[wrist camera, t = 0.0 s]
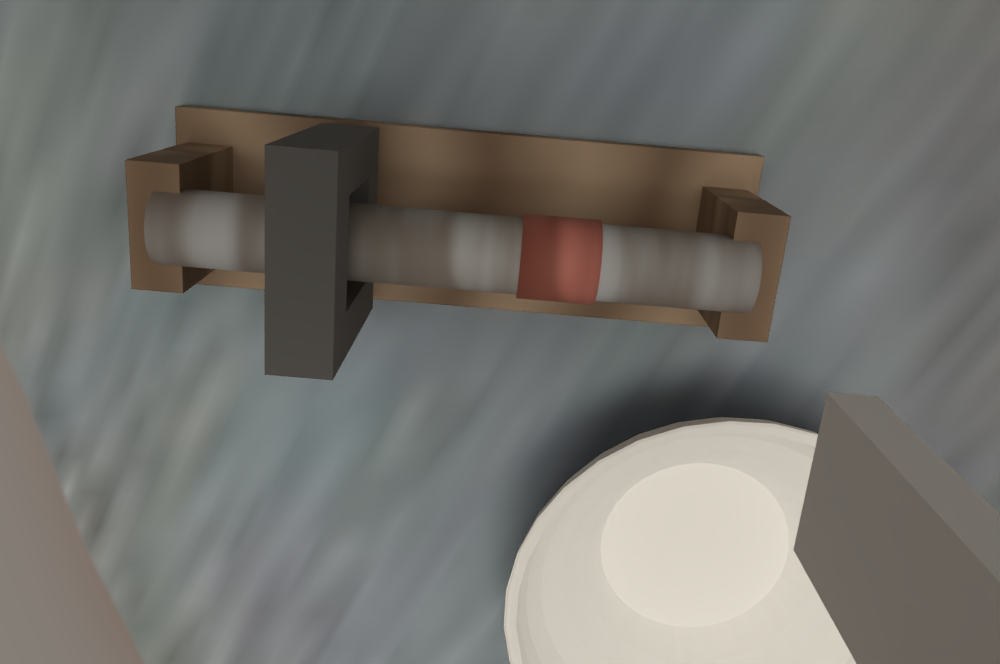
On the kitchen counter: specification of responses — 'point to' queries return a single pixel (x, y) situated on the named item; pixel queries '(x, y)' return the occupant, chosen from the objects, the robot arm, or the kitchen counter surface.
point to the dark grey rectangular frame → (315, 246)
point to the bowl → (675, 555)
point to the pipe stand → (481, 221)
